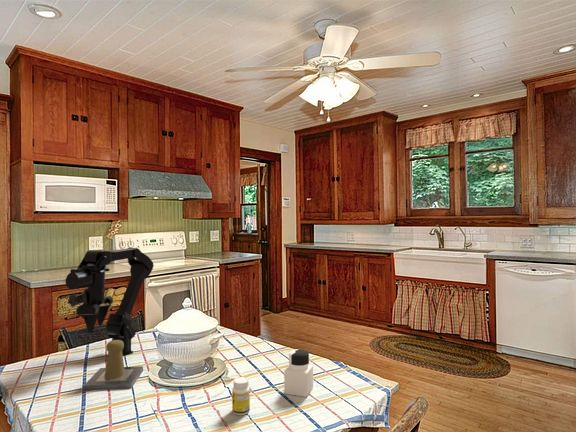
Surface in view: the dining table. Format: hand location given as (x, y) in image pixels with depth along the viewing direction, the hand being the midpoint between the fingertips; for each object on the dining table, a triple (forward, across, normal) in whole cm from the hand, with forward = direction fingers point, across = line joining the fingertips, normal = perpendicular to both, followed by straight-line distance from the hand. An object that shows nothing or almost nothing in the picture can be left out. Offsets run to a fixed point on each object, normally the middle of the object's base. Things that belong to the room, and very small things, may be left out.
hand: (95, 328), depth 135 cm
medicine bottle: (+13, +29, +69) cm, 76 cm away
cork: (+12, +14, +11) cm, 21 cm away
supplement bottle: (+13, +40, +52) cm, 66 cm away
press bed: (+13, +14, +11) cm, 22 cm away
